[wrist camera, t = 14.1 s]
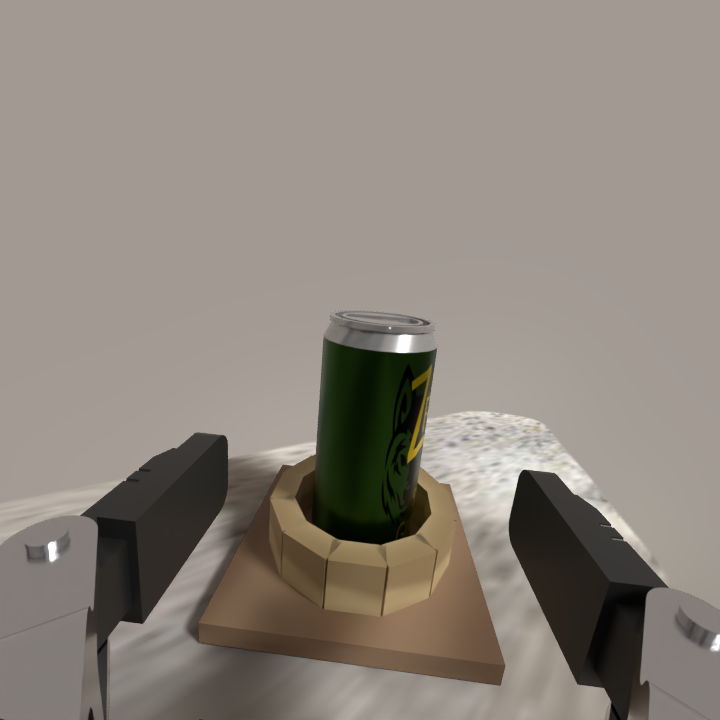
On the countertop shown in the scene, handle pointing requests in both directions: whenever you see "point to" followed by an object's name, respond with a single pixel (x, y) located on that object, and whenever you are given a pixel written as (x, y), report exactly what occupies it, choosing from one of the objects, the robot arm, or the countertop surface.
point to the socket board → (357, 589)
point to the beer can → (371, 424)
